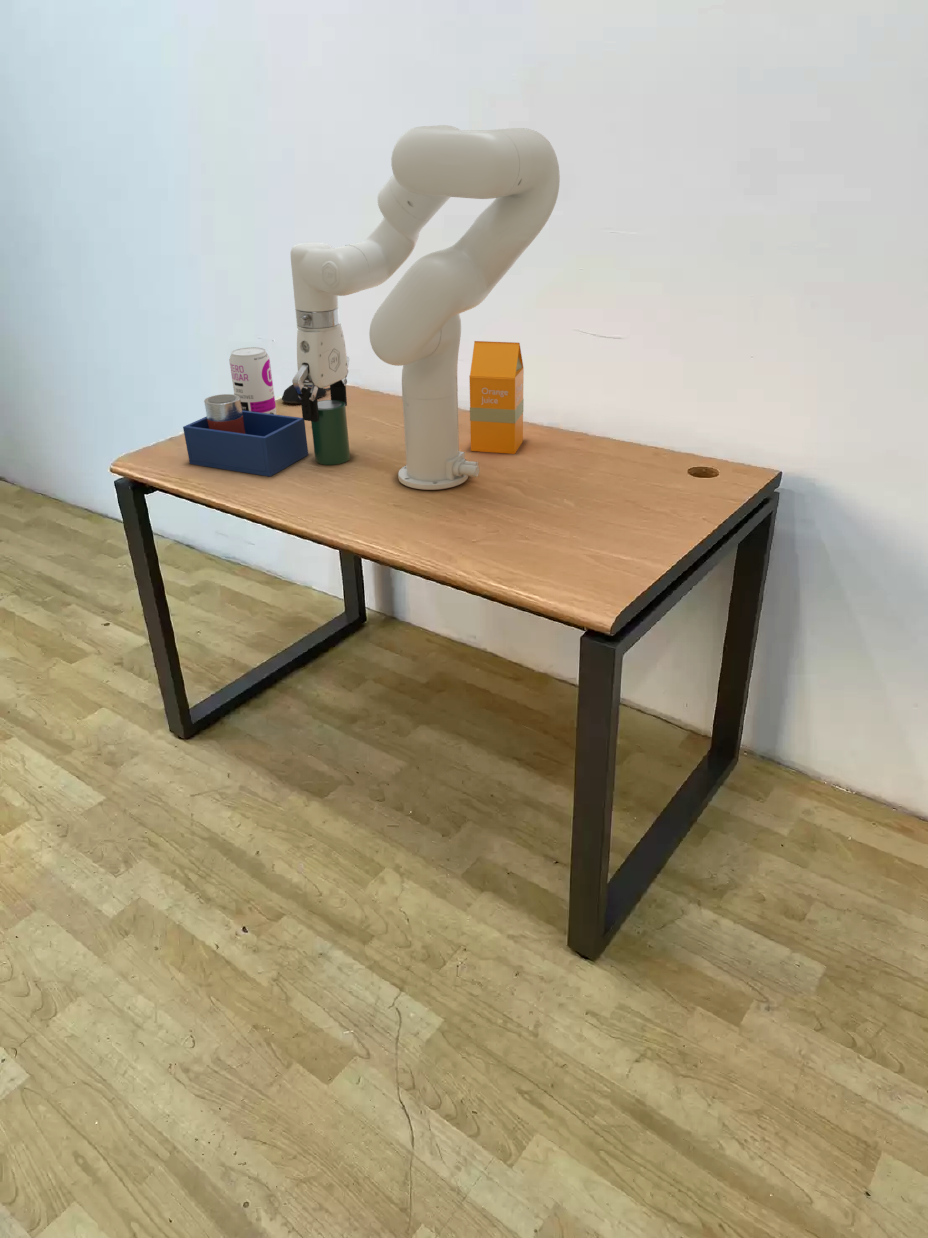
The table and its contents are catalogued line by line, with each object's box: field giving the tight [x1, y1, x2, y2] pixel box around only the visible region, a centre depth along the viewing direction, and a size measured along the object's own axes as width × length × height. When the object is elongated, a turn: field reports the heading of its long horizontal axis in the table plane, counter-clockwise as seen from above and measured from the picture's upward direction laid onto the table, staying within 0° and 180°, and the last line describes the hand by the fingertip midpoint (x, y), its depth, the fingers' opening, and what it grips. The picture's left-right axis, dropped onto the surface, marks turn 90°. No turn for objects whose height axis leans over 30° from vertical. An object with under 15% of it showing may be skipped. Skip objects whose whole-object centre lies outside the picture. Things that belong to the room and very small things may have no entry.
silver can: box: [203, 393, 246, 434], centre depth 172 cm, size 7×7×11 cm
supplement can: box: [228, 346, 278, 415], centre depth 190 cm, size 8×8×15 cm
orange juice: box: [469, 340, 525, 455], centre depth 171 cm, size 8×9×20 cm
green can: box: [310, 399, 351, 466], centre depth 169 cm, size 7×7×11 cm
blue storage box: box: [182, 410, 309, 478], centre depth 171 cm, size 19×13×7 cm
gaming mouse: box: [281, 382, 330, 405], centre depth 208 cm, size 6×15×4 cm, turn 146°
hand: (325, 412), depth 168 cm, fingers open, 9 cm apart
